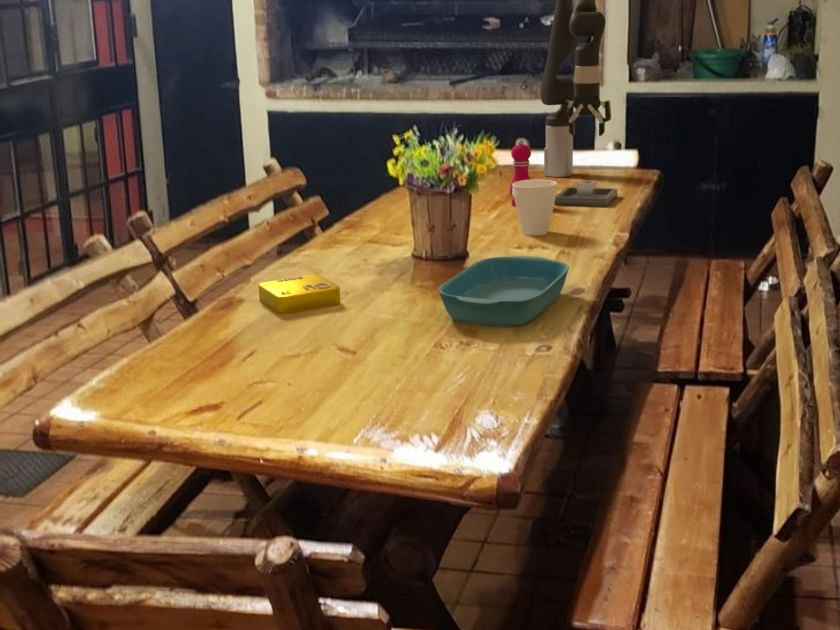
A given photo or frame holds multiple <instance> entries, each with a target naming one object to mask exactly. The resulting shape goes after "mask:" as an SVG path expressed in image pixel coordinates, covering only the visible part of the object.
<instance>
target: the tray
mask: <svg viewBox="0 0 840 630" xmlns="http://www.w3.org/2000/svg"><path fill="white" fill-rule="evenodd" d="M618 190H619V189H618V188H609V187H607V188H604V187H596V197H577V186H576V187H575V186H572V187H571V186H567V187H565V188H564V189H562V190H561V191H560V192H559V193H557V195H556V198H555V202H554V206H566V207H567V206H568V207H569V206H573V207H600V208H601V207H602V208H606V207H608V206H609V205H610V204H611V203H612V202H613V201H614V200H615V199H617V198H618V194H619V193H618Z"/></svg>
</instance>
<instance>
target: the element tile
mask: <svg viewBox="0 0 840 630" xmlns="http://www.w3.org/2000/svg"><path fill="white" fill-rule="evenodd" d="M258 296H259V297H258V298H259V303H261V302H262V303H261V304H263V305H264V304H265V305H264V306H265V307H267V306H268V307H267V308H268V309H270V308H271V309H270V310H271V311H273V310H274V311H275V312H274V311H273V312H274V313H276V314H278V315H290V314H291V313H292V314H296V313H302V311H303V312H308V310H309V311H314V310H319V309H325V308H329V307H335V306H336V307H337V306H338V305H341V304H340V303H341V288H340V285H338V284H336V283H334V282H333V281H330V280H328V279H327V278H325V277H323V276H321V275H319V274H316V273H313V274H308V275H299V276H294V277H288V278H287V277H285V278H283V279H277V280H270V281H265V282H260V283H259V284H258ZM292 314H291V315H292Z"/></svg>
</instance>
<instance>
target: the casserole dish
mask: <svg viewBox="0 0 840 630" xmlns="http://www.w3.org/2000/svg"><path fill="white" fill-rule="evenodd" d="M569 269H570V266H569V265H568V264H567V263H565V262H562V261H558V260H555V259H549V258H546V257H541V256H532V255H531V256H530V255H514V256H496V257H495V256H494V257H489V258H483V259H480V260H479V261H478V260H477V262H474V263H473V264H471V265H469V266H467V267H466V268H465V269H463V270H462V271H460V272H459V273H457V274H456V275H455V276H453V277H451V278H450V279H448V280H446V282H444V283H443V284H442V285H441V286H439V287H438V292H439V295H440V297H441V300H442V303H443V305H444V307H445V311H446V312H447V314H448V315H449V317H450V318H451V319H453V320H454V321H456V322H459V323H464V324H475V325H485V326H495V327H518V326H522V325H525V324H526V323H529V322H530V321H532V320H533V319H535V318H536V317H537V316H538V315H539V314H540V313H542V312H543V311H544V310H545V309H546V308H547V307H548V306H549V305H550V304H551V303H552V302H553V301H555V299H557V297H558V296H559V295H560V293H561V292H562V290H563V288H564V285H565V282H566V279H567V276H568V273H569V272H568V271H569Z"/></svg>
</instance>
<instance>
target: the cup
mask: <svg viewBox="0 0 840 630" xmlns="http://www.w3.org/2000/svg"><path fill="white" fill-rule="evenodd" d="M557 185H558V182H557V181H555V180H550V179H541V178H540V179H539V178H537V179H530V180H522V181H517V182H514V183H513V184H512V186H513V189H512V195H511V196H512V197H513V196H514V200H515V204H516V206H515V208H516V211H517V215H518V219H519V223H520V227H521V231H522V234H523V235H525V236H544V235H547V234H548V232H549V227H550V223H551V219H552V215H553V211H554V206H555V204H554V202H555V198H556V195H558V186H557Z"/></svg>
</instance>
